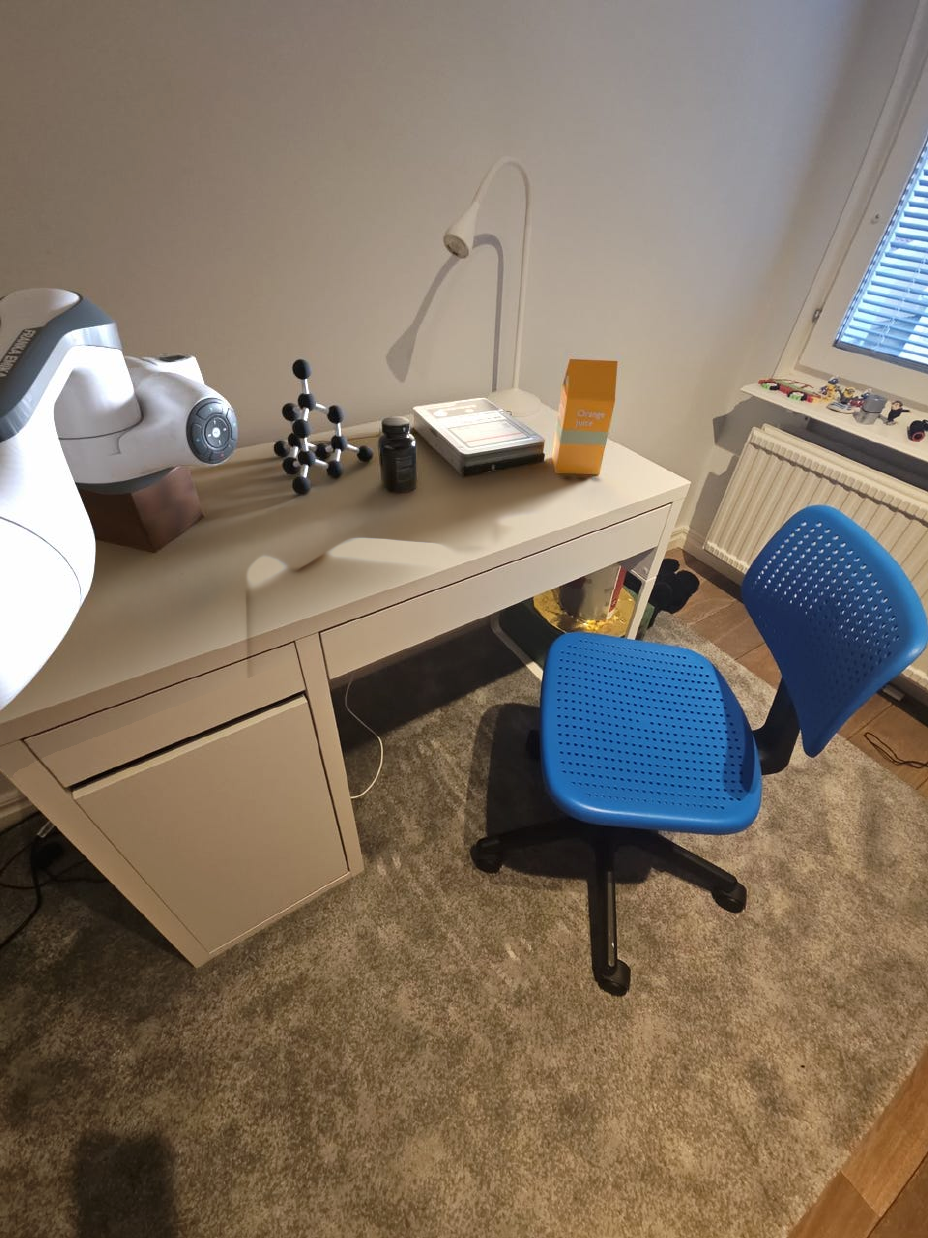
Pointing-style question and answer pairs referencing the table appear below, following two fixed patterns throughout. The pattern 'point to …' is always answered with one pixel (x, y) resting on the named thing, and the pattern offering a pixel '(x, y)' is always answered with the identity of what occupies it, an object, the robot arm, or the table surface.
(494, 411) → the hard drive
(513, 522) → the table surface
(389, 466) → the supplement bottle
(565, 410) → the orange juice
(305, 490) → the molecular model
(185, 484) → the box
